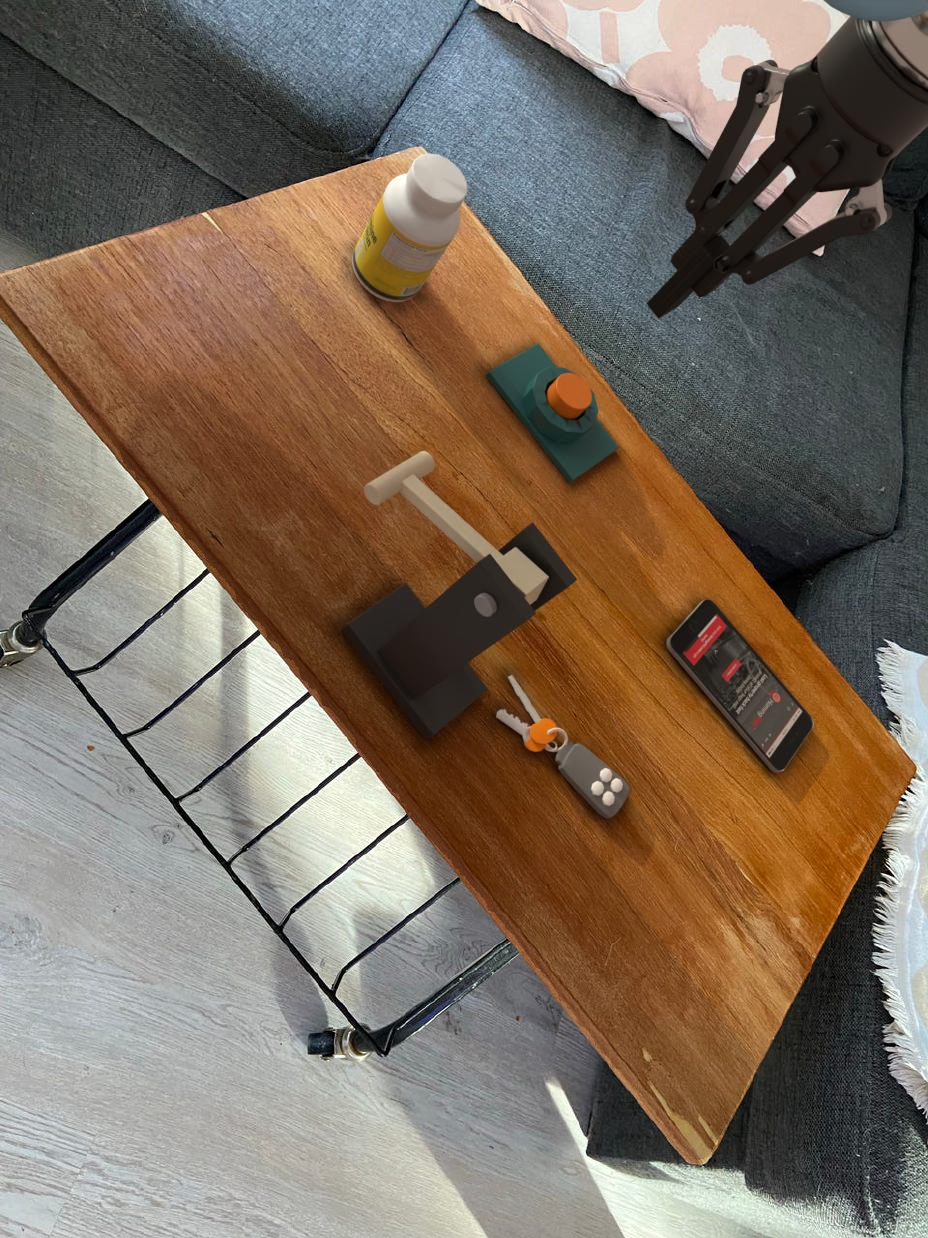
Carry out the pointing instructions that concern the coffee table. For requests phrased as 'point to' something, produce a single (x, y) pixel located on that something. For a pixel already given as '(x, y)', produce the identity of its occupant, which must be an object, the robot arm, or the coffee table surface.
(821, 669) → the coffee table surface
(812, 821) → the coffee table surface
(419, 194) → the pill bottle
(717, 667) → the smartphone
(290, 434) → the coffee table surface
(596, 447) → the teal button base
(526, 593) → the switch lever
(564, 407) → the button
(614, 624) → the coffee table surface
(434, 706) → the lever switch stand
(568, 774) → the key chain
